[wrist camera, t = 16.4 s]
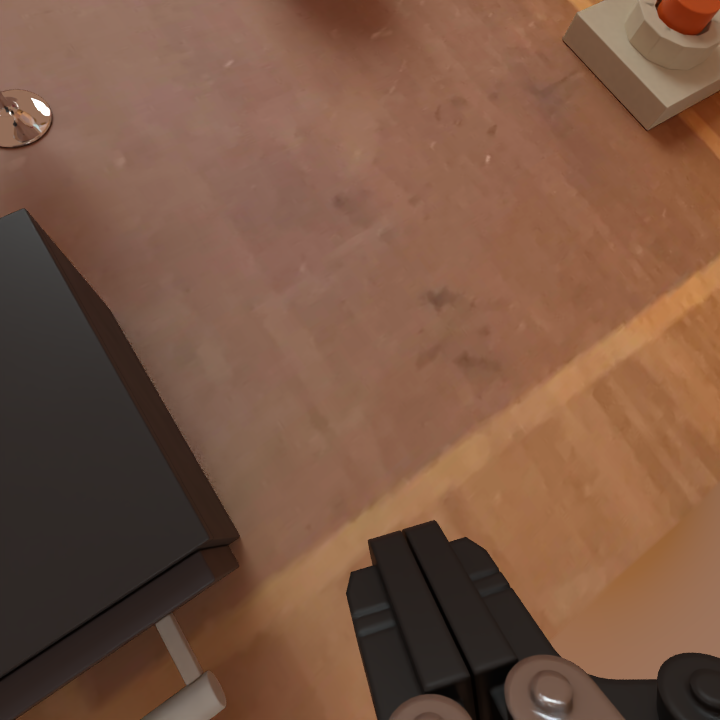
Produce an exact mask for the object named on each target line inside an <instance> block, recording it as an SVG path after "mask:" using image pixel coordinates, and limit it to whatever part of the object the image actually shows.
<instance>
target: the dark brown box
mask: <svg viewBox="0 0 720 720" xmlns="http://www.w3.org/2000/svg"><path fill="white" fill-rule="evenodd" d="M239 537H240V535H239V533H238V532H237V530H236V528H235V526H234V525H233V523H232V521H231V519H230V518H229V516H228V514H227V512H226V511H225V509H224V507H223V505H222V504H221V502H220V500H219V499H218V497H217V495H216V493H215V492H214V490H213V488H212V486H211V485H210V483H209V481H208V479H207V478H206V476H205V474H204V472H203V471H202V469H201V467H200V465H199V464H198V462H197V460H196V459H195V457H194V455H193V453H192V452H191V450H190V448H189V446H188V445H187V443H186V441H185V439H184V438H183V436H182V434H181V432H180V431H179V429H178V427H177V425H176V424H175V422H174V420H173V419H172V417H171V415H170V413H169V412H168V410H167V408H166V406H165V405H164V403H163V401H162V399H161V398H160V396H159V394H158V392H157V391H156V389H155V387H154V385H153V384H152V382H151V380H150V379H149V377H148V375H147V373H146V372H145V370H144V368H143V366H142V365H141V363H140V361H139V359H138V358H137V356H136V354H135V352H134V351H133V349H132V347H131V345H130V344H129V342H128V340H127V339H126V337H125V335H124V333H123V332H122V330H121V328H120V326H119V325H118V323H117V321H116V319H115V318H114V316H113V314H112V312H111V311H110V309H109V308H108V307H107V306H106V305H105V303H104V302H103V301H102V299H101V298H100V297H99V296H98V295H97V294H96V292H95V291H94V290H93V289H92V288H91V286H90V285H89V284H88V283H87V282H86V280H85V279H84V278H83V277H82V276H81V274H80V273H79V272H78V271H77V270H76V268H75V267H74V266H73V265H72V264H71V262H70V261H69V260H68V259H67V258H66V256H65V255H64V254H63V253H62V252H61V250H60V249H59V248H58V247H57V246H56V245H55V243H54V242H53V241H52V240H51V239H50V237H49V236H48V235H47V234H46V233H45V231H44V230H43V229H42V228H41V227H40V225H39V224H38V223H37V222H36V221H35V220H34V218H33V217H32V216H31V215H30V214H29V212H28V211H27V210H26V209H21V210H18V211H16V212H13V213H11V214H9V215H6V216H4V217H1V218H0V679H1V678H3V677H4V676H6V675H7V674H9V673H10V672H12V671H14V670H15V669H17V668H18V667H20V666H21V665H23V664H24V663H26V662H27V661H29V660H30V659H32V658H33V657H35V656H36V655H38V654H39V653H41V652H43V651H44V650H46V649H47V648H49V647H50V646H52V645H53V644H55V643H56V642H58V641H59V640H61V639H62V638H64V637H65V636H67V635H68V634H70V633H72V632H73V631H75V630H76V629H78V628H79V627H81V626H82V625H84V624H85V623H87V622H88V621H90V620H91V619H93V618H94V617H96V616H97V615H99V614H101V613H102V612H104V611H105V610H107V609H108V608H110V607H111V606H113V605H114V604H116V603H117V602H119V601H120V600H122V599H123V598H125V597H126V596H128V595H130V594H131V593H133V592H134V591H136V590H137V589H139V588H140V587H142V586H143V585H145V584H146V583H148V582H149V581H151V580H152V579H154V578H155V577H157V576H159V575H160V574H162V573H163V572H165V571H166V570H168V569H169V568H171V567H172V566H174V565H175V564H177V563H178V562H180V561H181V560H183V559H185V558H186V557H188V556H189V555H191V554H192V553H194V552H195V551H197V550H202V549H207V548H213V547H219V546H224V545H229V544H230V543H232V542H233V541H235V540H236V539H238V538H239Z"/></svg>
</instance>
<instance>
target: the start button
mask: <svg viewBox="0 0 720 720" xmlns="http://www.w3.org/2000/svg"><path fill="white" fill-rule="evenodd" d="M719 9H720V0H662V1H661V2H660V4H659V6H658V8H657V13H658V16H659V18H660V19H661V20H662V21H663V22H664V23H665V24H666V25H667V26H668V27H669V28H670V29H673V30H675V31H677V32H679V33H681V34H683V35H697V34H699V33H700V32H702V30H703V29H704V28H705V27H706V25H707V24H708V23H709V22H710V20H711V19H712V18H713V17H714V15H715V14H716V13H717V12H718V11H719Z"/></svg>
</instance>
